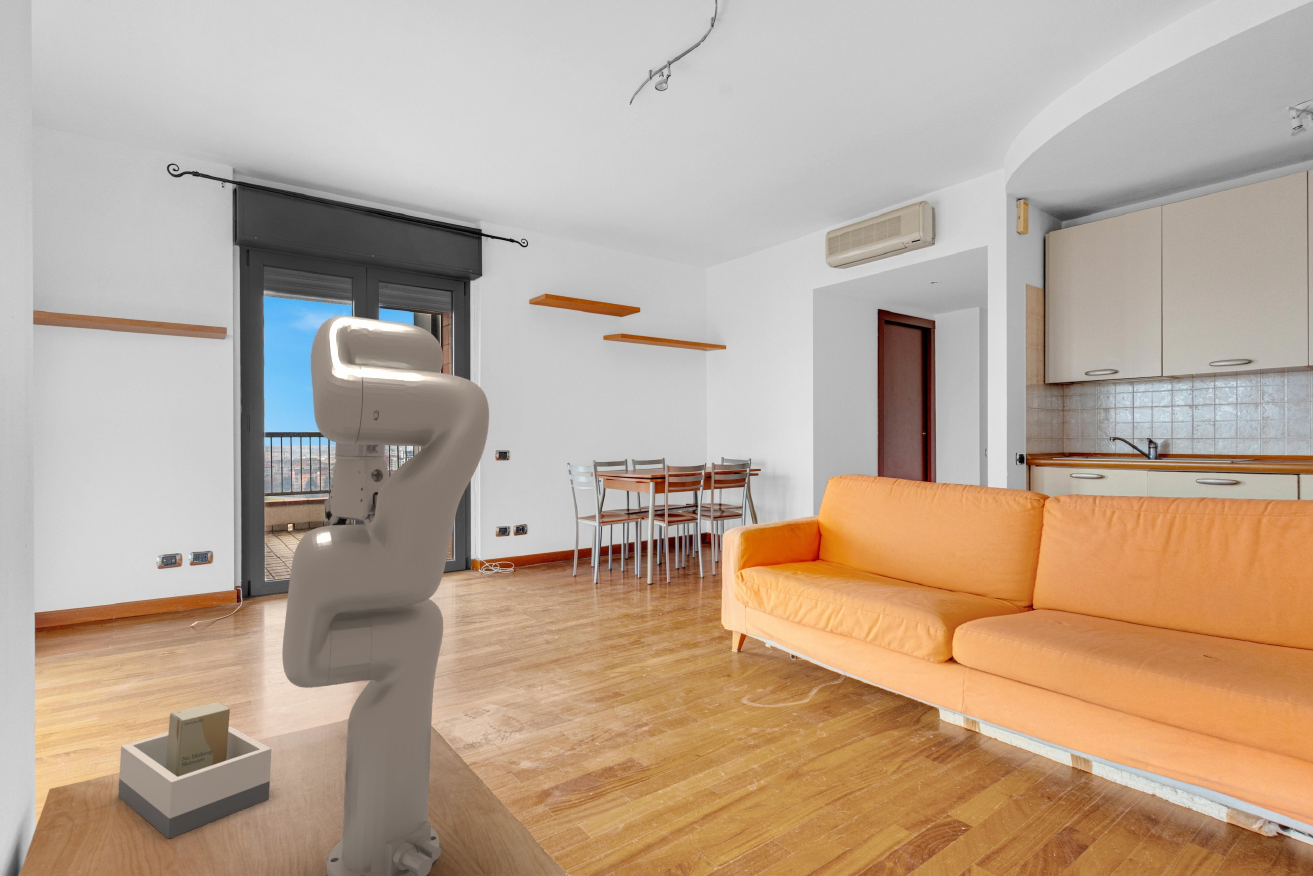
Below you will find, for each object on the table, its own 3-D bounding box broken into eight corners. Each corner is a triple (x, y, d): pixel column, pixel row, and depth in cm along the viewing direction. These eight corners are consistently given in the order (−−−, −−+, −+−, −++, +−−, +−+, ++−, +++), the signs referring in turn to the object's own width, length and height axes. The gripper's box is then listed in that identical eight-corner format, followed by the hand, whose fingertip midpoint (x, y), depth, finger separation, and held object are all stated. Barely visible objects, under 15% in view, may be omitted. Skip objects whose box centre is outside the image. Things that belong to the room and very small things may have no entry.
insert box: (268, 799, 91) (271, 748, 92) (168, 839, 81) (171, 782, 82) (214, 764, 101) (216, 719, 101) (118, 796, 91) (121, 746, 91)
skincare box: (173, 813, 87) (178, 721, 88) (161, 802, 90) (166, 713, 90) (227, 794, 92) (231, 707, 93) (214, 784, 95) (218, 700, 95)
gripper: (413, 452, 107) (408, 557, 106) (350, 451, 116) (345, 547, 115) (372, 451, 101) (367, 562, 100) (309, 449, 110) (304, 551, 109)
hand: (355, 554), depth 108 cm, fingers open, 9 cm apart
